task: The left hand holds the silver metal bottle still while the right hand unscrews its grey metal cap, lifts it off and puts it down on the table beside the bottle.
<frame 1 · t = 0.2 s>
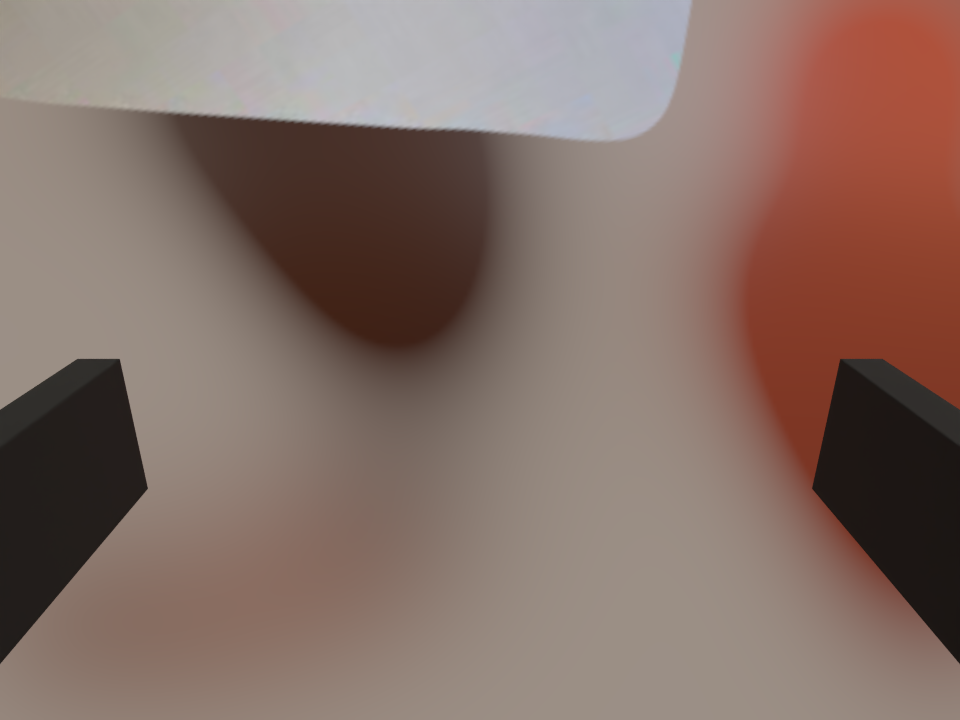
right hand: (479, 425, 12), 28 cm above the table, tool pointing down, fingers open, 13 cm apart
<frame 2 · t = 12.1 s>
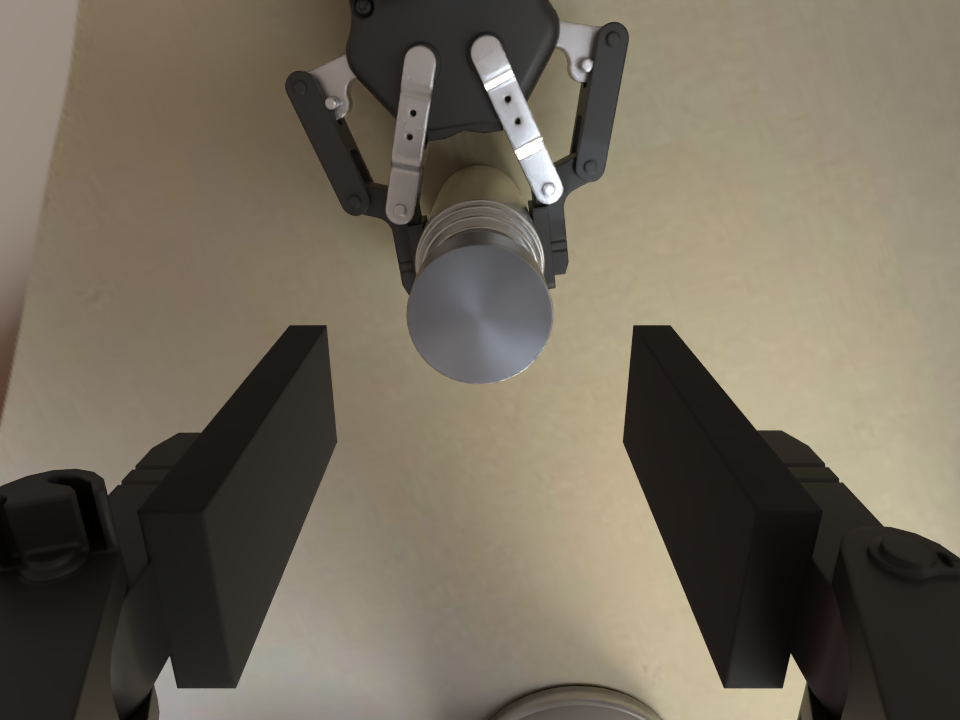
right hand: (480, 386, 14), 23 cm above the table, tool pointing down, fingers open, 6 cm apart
left hand: (487, 291, 30), fingers closed on bottle, 4 cm apart
bottle: (479, 210, 35), on the table, touching left hand
cap: (479, 314, 19), point 18 cm above the table, screwed on, not yet turned
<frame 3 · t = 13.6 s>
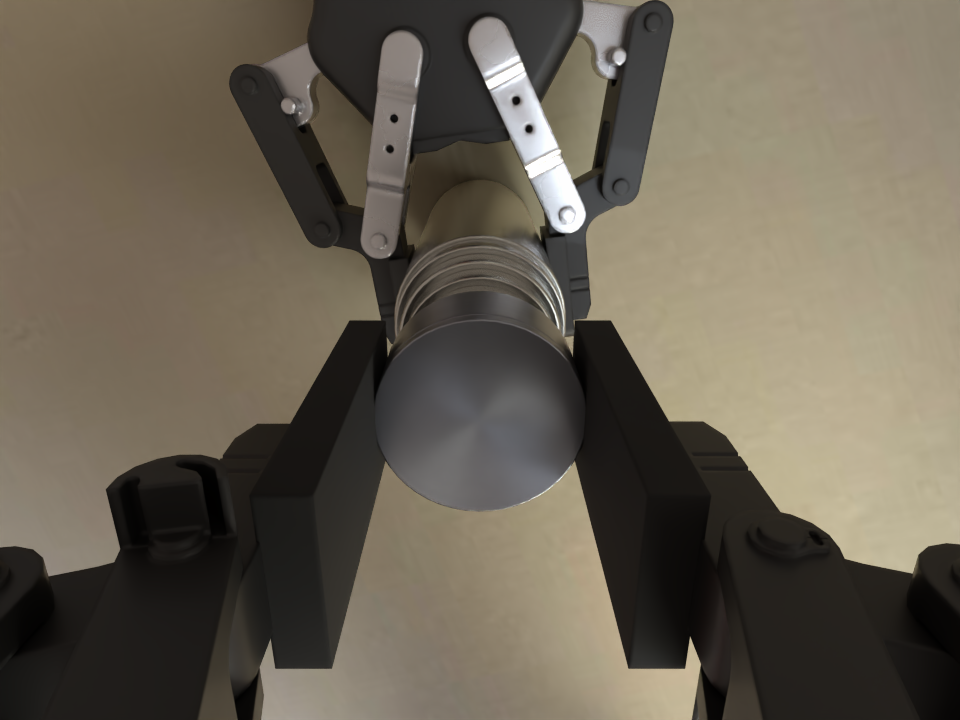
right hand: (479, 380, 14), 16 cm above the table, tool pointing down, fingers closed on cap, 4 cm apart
left hand: (489, 338, 25), fingers closed on bottle, 4 cm apart
bottle: (480, 233, 29), on the table, touching left hand
cap: (480, 414, 13), point 18 cm above the table, screwed on, not yet turned, touching right hand
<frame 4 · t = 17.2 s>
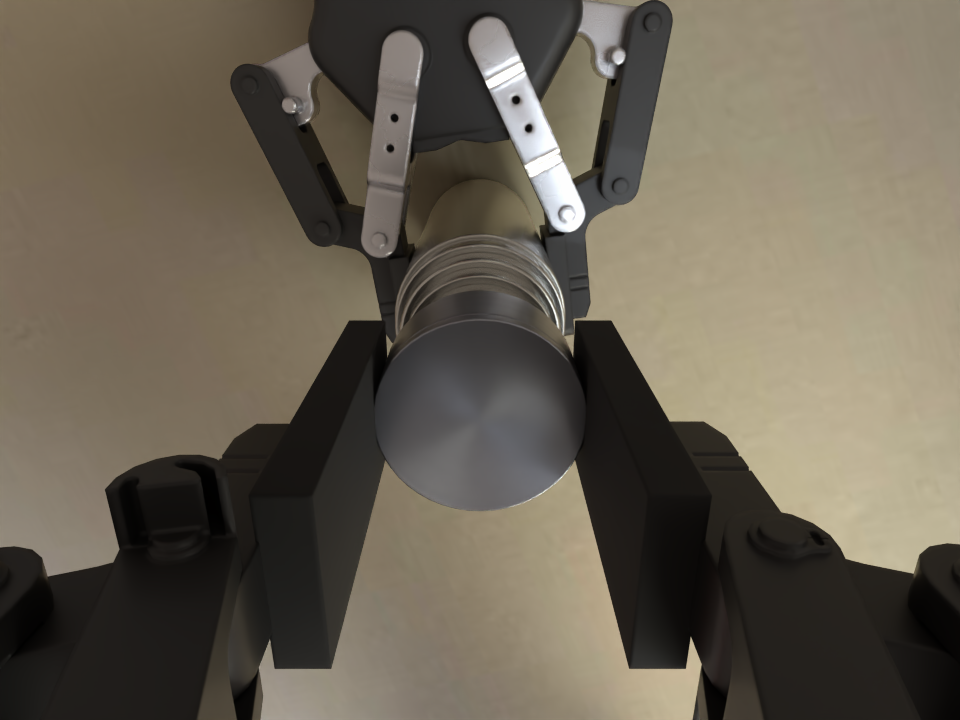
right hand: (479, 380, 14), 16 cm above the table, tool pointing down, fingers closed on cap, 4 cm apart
left hand: (489, 336, 25), fingers closed on bottle, 4 cm apart
bottle: (480, 233, 29), on the table, touching left hand
cap: (480, 414, 13), point 18 cm above the table, turned 129° so far, risen 0.1 cm, still on its thread, touching right hand
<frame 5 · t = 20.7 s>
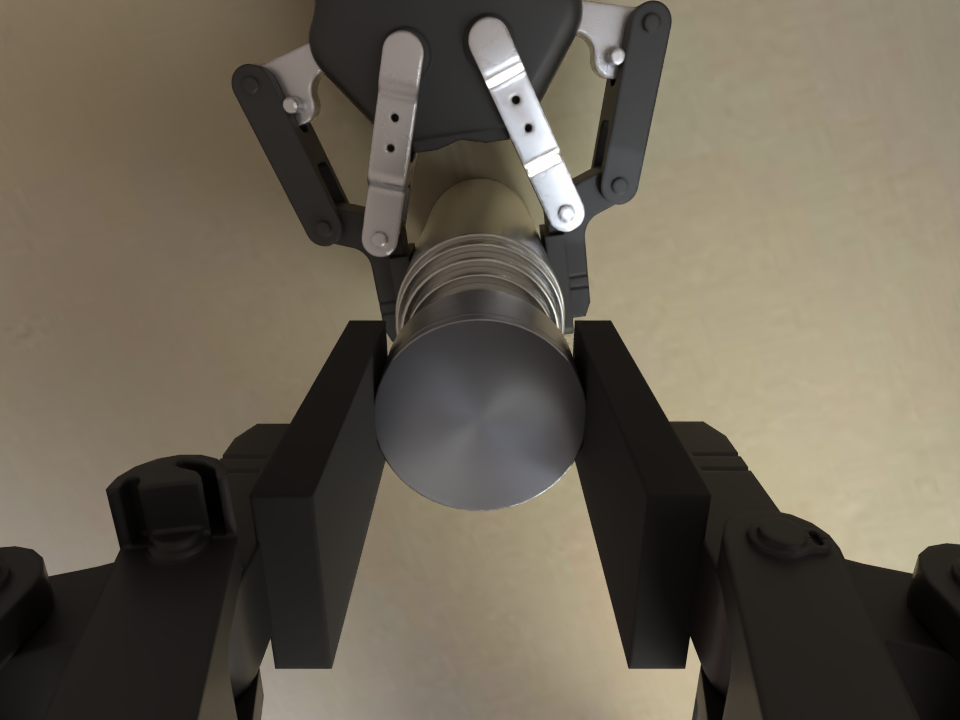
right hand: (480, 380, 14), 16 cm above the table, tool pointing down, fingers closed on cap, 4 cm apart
left hand: (489, 335, 25), fingers closed on bottle, 4 cm apart
bottle: (480, 232, 30), on the table, touching left hand
cap: (480, 413, 13), point 18 cm above the table, turned 258° so far, risen 0.2 cm, still on its thread, touching right hand
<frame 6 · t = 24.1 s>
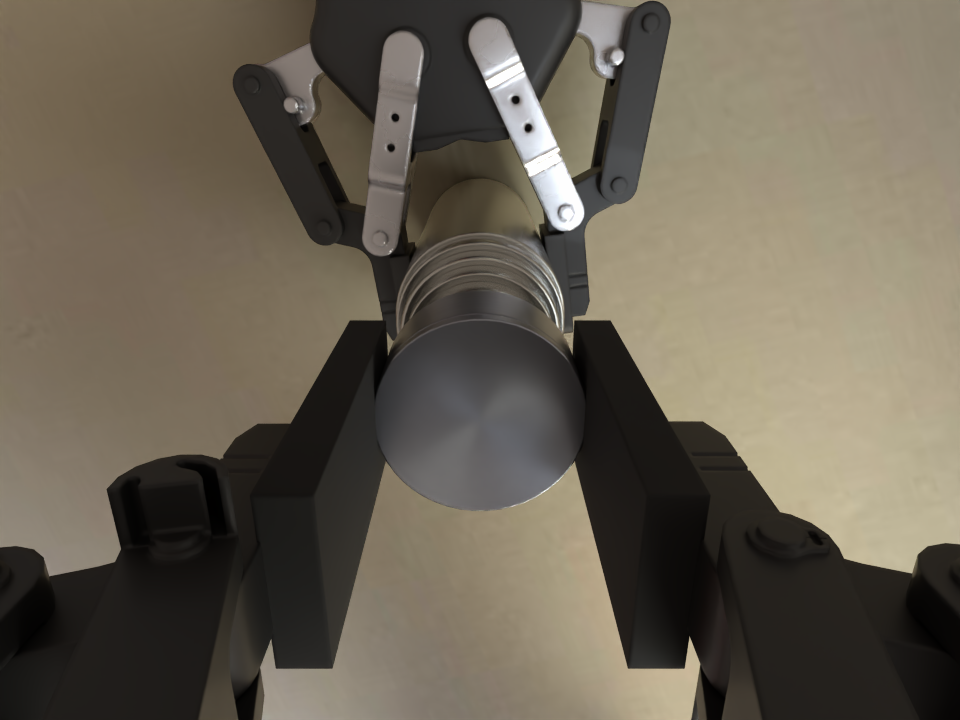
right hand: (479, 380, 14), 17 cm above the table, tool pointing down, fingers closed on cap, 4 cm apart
left hand: (489, 334, 25), fingers closed on bottle, 4 cm apart
bottle: (480, 232, 30), on the table, touching left hand
cap: (480, 413, 13), point 18 cm above the table, turned 387° so far, risen 0.3 cm, still on its thread, touching right hand
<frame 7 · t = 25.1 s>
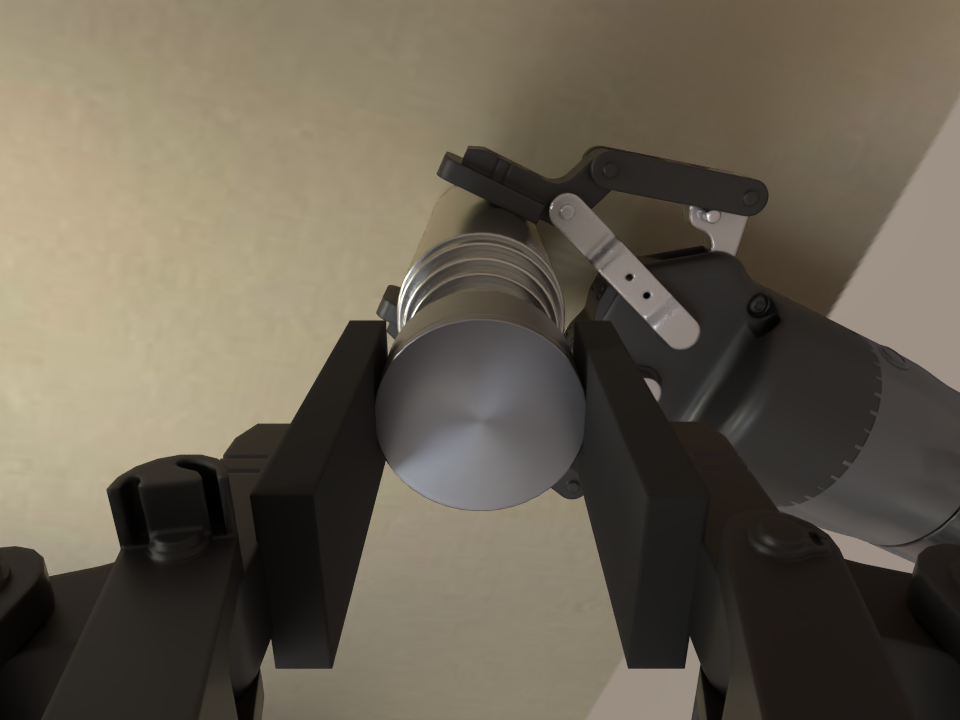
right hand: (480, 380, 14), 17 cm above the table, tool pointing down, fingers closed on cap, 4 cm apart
bottle: (480, 232, 30), on the table, touching left hand
cap: (480, 413, 13), point 18 cm above the table, off its thread, touching right hand
when the right hand's fingers open (2 cm above the table, at t = 30.3 s): cap drops 2 cm, point 2 cm above the table.
when the left hand's fingers open (6 cm above the table, at t = 31.5 s): bottle stays where it is, on the table.
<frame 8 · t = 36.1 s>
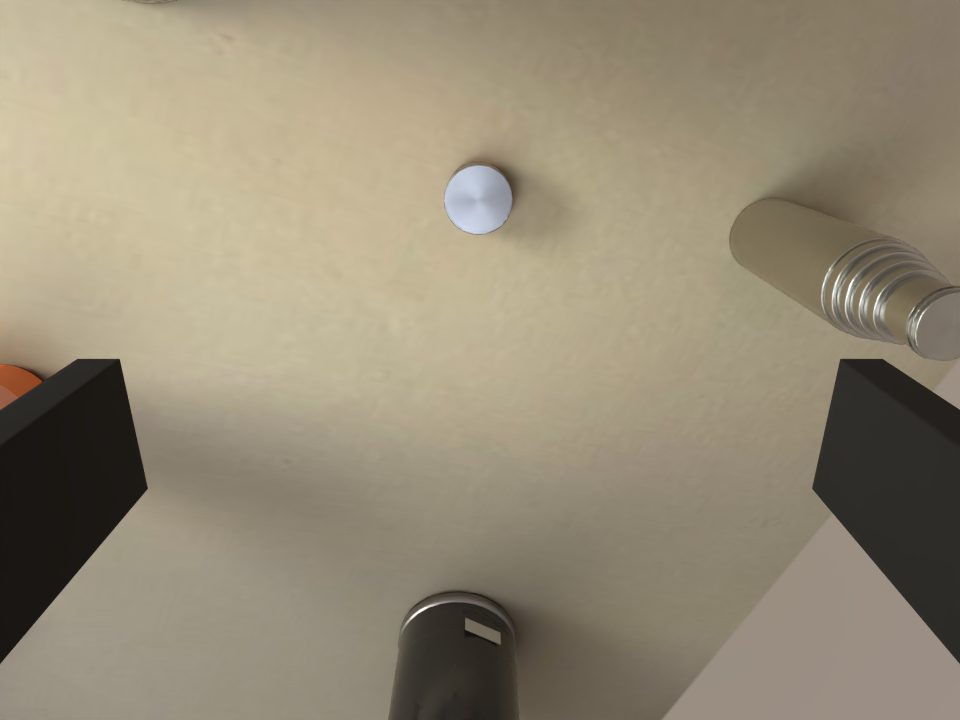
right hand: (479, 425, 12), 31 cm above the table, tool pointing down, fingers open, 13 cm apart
bottle: (766, 235, 42), on the table
cup with straw: (16, 403, 46), on the table
cap: (478, 199, 40), point 2 cm above the table, off its thread
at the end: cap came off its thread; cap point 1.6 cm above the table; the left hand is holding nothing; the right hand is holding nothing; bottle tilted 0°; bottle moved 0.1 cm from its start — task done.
